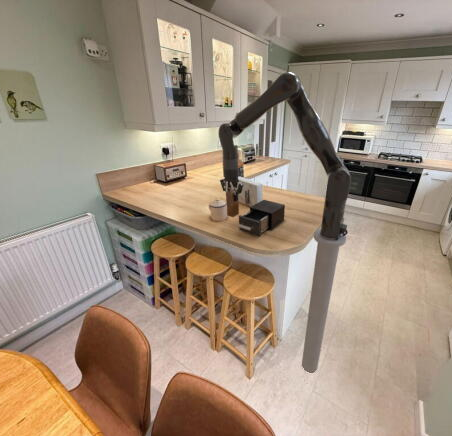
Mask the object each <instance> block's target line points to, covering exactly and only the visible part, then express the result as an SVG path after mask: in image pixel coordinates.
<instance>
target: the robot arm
mask: <svg viewBox="0 0 452 436" xmlns="http://www.w3.org/2000/svg"><path fill="white" fill-rule="evenodd" d="M284 102H286V103H287V104H288V106H289V107H290V110H291V111H292V112H293V114H294V117H295V120H296V123H297V126H298V129H299V131H300V134H301V137H302V138H303V140H304V141H305V143H306V145H307V146H308V148H309V149H310V150H311V152H312V153H313V154H314V156H315V157H316V158H317V159H318V161H320V163H321V165H322V167H323V169H324V171H325V174H326V176H327V181H326V182H327V184H326V190H325V197H324V202H323V203H324V204H323V210H322V217H321V225H320V228H321V232H320V235H321V237H323V238H325V239H327V240H336V241H338V239H339V238H340V236H341V234H343V236H345V235H346V236H347V235H348V233H349V232H348V230H347V228H348V224H345V218H344V216H345V210H346V204H347V200H348V198H349V193H350V188H351V183H352V176H351V173H350V171H349V169H348V168H347V167H346V165H345V164H344V162H343V161H342V160H341V158H340V157H339V155H338V153H337V152H336V149H335V146H334V144H333V140H332V139H331V135H330V134H329V132H328V130H327V128H326V126H325V125H324V123H323V121H322V119H321V118H320V116H319V115H318V113H317V111H316V110H315V108H314V107H313V106H312V104H311V103H310V100H309V98H308V97H307V93H306V92H305V89H304V86H303V84H302V82H301V79H300V77H299V76H298V75H297V74H296V73H294V72H290V71H287V72H286V71H285V72H283V73H281V74H280V75H279V76H278V77H277V78H276V79H274V81H273V82H272V84H271V85H269V87H268V88H267V89H266V90H265V91H264V92H263V93H262V94H261V95H259V96H258V97H257V98H256V99H255V100H253V101H252V102H250V103H249V104H248V105H246V106H245V107H244V108H243V109H241V110H240V111H239V112H238V113H236V114H235V117H234V119H232V120H230V122H224V123H222V124H220V125H219V127H218V139H219V143H220V147H221V150H222V174H223V178H221V179H219V182H220V185H221V189H222V191H223V192H225V193H226V192H228V191H230V190H231V188H232V191H233V192H234V202H236V201H238V194H240V193H241V192H242V189H243V185H244V184H243V183H240V182H239V180H238V177H239V167H238V159H239V158H238V155H239V153H238V154H237V147H236V146H235V145H236V144H235V143H234V139H235V138H237V137H239V136H240V135H241V134H242V133H243V132H244V131H245V130H246V129H248V128H249V127H251V126H253V124H255V123H256V122H258V121H259V120H260V119H261V118H262V117H263V116H264V115H265V114H267V112H268V111H270V110H271V109H272V108H274V107H275V106H277V105H279V104H282V103H284ZM235 187H236V188H235ZM235 190H236V191H235ZM238 202H239V201H238Z"/></svg>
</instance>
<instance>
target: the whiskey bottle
mask: <svg viewBox="0 0 452 436" xmlns="http://www.w3.org/2000/svg"><path fill="white" fill-rule="evenodd" d="M234 145H235V146H236V147H237V154H238V167H239V176H240V177H243V178H245V176H244V175H245V174H244V173H245V172H244V165H245V162H244V161H242V160H240V159H239V158H240V157H239V149H238V145H237V144H234ZM231 190H232V188H231Z"/></svg>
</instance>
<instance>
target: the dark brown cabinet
mask: <svg viewBox="0 0 452 436" xmlns="http://www.w3.org/2000/svg"><path fill="white" fill-rule="evenodd" d="M251 210H256V211H259V212H263V213H267V214H270V215H271V216H270V228H268V229H267V230H269V231H273V230H274V229H275V228H276V227H278V226H279V225H280V224H282V223H283V222H284V221H285V213H286V211H285V210H286V204H283V203H279V202H275V201H272V200H268V199H262V201H260V202H259V203H257V204H255V205H253V206H252V207H250V206H249V211H251Z"/></svg>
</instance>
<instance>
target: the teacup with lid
mask: <svg viewBox="0 0 452 436" xmlns="http://www.w3.org/2000/svg"><path fill="white" fill-rule="evenodd" d="M208 209H209V211H210V217H211V220H213V221H214V222H221V221H224V220H226V219H227V217H228V216H227V203H226V200H224V199H223V200H221V199H220V198H219V197H218V198H215V200H212V201H211V202H210V203H209V204H208Z"/></svg>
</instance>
